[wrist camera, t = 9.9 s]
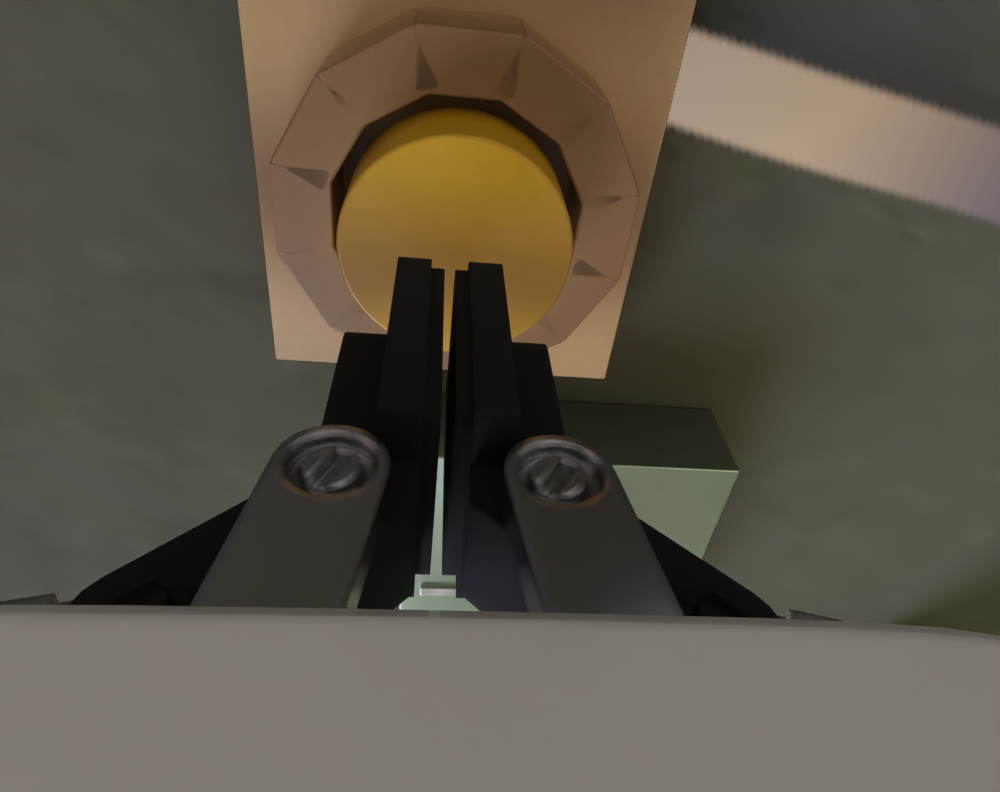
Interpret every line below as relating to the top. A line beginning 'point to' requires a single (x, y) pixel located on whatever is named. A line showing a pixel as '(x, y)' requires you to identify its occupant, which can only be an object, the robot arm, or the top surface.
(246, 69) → the button housing
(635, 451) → the dial panel
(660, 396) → the top surface
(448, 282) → the round yellow button
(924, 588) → the top surface
